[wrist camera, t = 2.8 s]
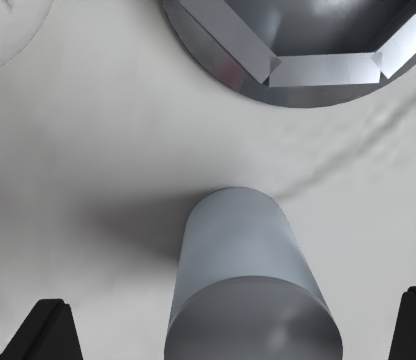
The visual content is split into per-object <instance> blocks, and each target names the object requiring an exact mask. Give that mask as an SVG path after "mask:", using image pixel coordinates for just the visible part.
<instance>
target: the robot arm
mask: <svg viewBox="0 0 416 360" xmlns="http://www.w3.org/2000/svg"><path fill="white" fill-rule="evenodd" d="M0 360H83V357H82V353H81V348H80V344H79V340H78V336H77V332H76V328H75V324H74V320H73V316H72V312H71V308H70V305H69V304H65V303H64V301H63V300H62V299H41V300H39V301H38V302H37V303H36V304H35V306H34V307H33V309H32V310H31V312H30V313H29V315H28V316H27V317H26V319H25V320H24V322H23V323H22V325H21V326H20V328H19V329H18V331H17V332H16V334H15V335H14V337H13V338H12V339H11V341H10V342H9V344H8V345H7V347H6V348H5V350H4V351H3V353H2V354H0ZM388 360H416V286H411V287H409V288H408V291H407V292H404V293H403V295H402V298H401V303H400V308H399V312H398V317H397V321H396V326H395V331H394V335H393V340H392V344H391V349H390V354H389V358H388Z"/></svg>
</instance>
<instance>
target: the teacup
mask: <svg viewBox="0 0 416 360" xmlns="http://www.w3.org/2000/svg"><path fill="white" fill-rule="evenodd" d="M52 1H53V0H0V66H2V65H4V64H5V63H7V62H8V61H9V60H11V59H12V58H13V57H15V56H16V55H17V54H18V53H19V52H20V51H22V50H23V49H24V47H25V46H26V45H27V44H28V43H29V42H30V41H31V39H32V38H33V37H34V35H35V34H36V32H37V31H38V30H39V28H40V27H41V25H42V24H43V22H44V20H45V18H46V16H47V14H48V12H49V9H50V7H51V4H52Z"/></svg>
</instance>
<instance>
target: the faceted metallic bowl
mask: <svg viewBox="0 0 416 360" xmlns="http://www.w3.org/2000/svg"><path fill="white" fill-rule="evenodd" d="M161 2H162V4H163V7H164V10H165V12H166V14H167V16H168V18H169V20H170V22H171V24H172V26H173V28H174V30H175V31H176V33H177V35H178V36H179V38H180V39H181V41H182V42H183V43H184V45H185V46H186V48H187V49H188V51H189V52H190V53H191V54H192V55H193V56H194V57H195V59H196V60H197V61H198V62H199V63H200V64H201V65H202V66H203V67H204V68H205V69H206V70H207V71H208V72H210V73H211V74H212V75H213V76H214V77H216V78H217V79H218V80H219V81H221V82H222V83H224V84H225V85H227V86H229V87H230V88H232V89H233V90H235V91H237V92H239V93H241V94H243V95H245V96H247V97H250V98H252V99H254V100H258V101H261V102H264V103H268V104H271V105H277V106H283V107H289V108H316V107H326V106H332V105H336V104H340V103H345V102H349V101H352V100H354V99H357V98H360V97H362V96H365V95H368V94H370V93H372V92H374V91H376V90H378V89H380V88H382V87H384V86H386V85H387V84H389V83H390V82H392V81H394V80H395V79H397V78H398V77H400V76H401V75H403V74H404V73H406V72H407V71H408V70H409V69H410V68H412V67H413V66H414V65H415V64H416V0H161Z"/></svg>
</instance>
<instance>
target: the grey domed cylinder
mask: <svg viewBox="0 0 416 360" xmlns="http://www.w3.org/2000/svg"><path fill="white" fill-rule="evenodd" d="M342 357H343V346H342V339H341V336H340V333H339V330H338V328H337V326H336V324H335V322H334V319H333V317H332V315H331V313H330V311H329V309H328V307H327V304H326V302H325V300H324V298H323V296H322V294H321V292H320V289H319V287H318V285H317V283H316V281H315V279H314V277H313V274H312V272H311V270H310V268H309V266H308V264H307V262H306V259H305V257H304V255H303V253H302V251H301V249H300V247H299V245H298V242H297V240H296V238H295V236H294V234H293V232H292V230H291V227H290V225H289V223H288V221H287V219H286V217H285V215H284V213H283V211H282V209H281V208H280V207H279V205H278V204H277V203H276V202H275V201H274V200H273V199H271V198H270V197H269V196H267V195H266V194H264V193H262V192H259V191H257V190H254V189H250V188H244V187H232V188H225V189H221V190H218V191H215V192H213V193H211V194H209V195H208V196H206V197H205V198H203V199H202V200H201V201H200V202H199V203H198V204H197V205H196V206H195V207H194V208H193V210H192V211H191V213H190V215H189V217H188V219H187V222H186V226H185V232H184V238H183V244H182V249H181V255H180V261H179V267H178V273H177V278H176V284H175V290H174V296H173V302H172V307H171V313H170V319H169V325H168V330H167V336H166V342H165V349H164V360H342Z"/></svg>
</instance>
